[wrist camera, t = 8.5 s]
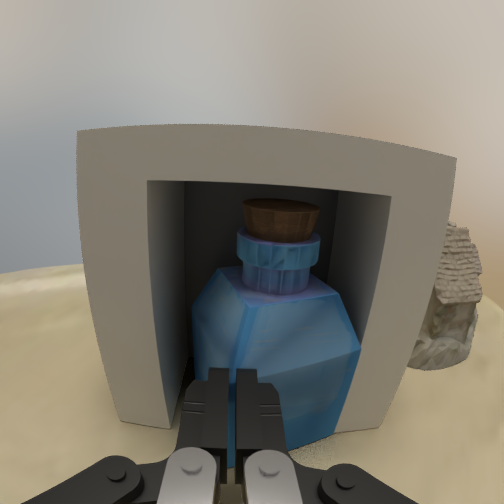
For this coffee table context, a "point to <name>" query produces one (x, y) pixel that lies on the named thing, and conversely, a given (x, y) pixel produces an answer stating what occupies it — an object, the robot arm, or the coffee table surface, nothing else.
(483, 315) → the coffee table surface
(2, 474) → the coffee table surface
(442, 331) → the ceramic cottage
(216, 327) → the perfume bottle
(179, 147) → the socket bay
